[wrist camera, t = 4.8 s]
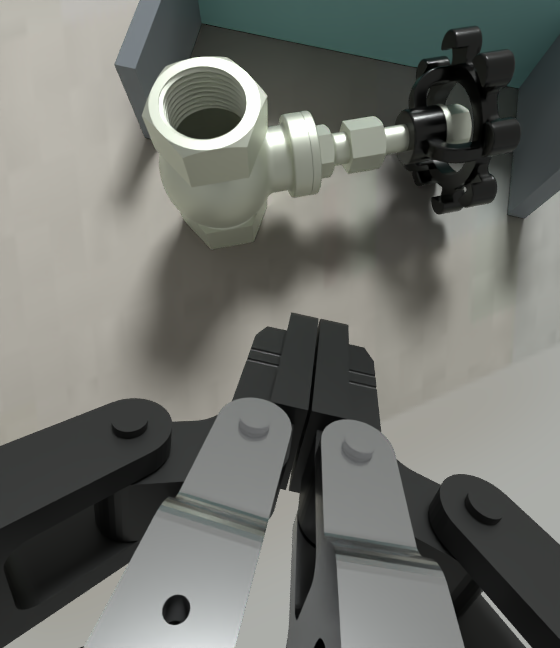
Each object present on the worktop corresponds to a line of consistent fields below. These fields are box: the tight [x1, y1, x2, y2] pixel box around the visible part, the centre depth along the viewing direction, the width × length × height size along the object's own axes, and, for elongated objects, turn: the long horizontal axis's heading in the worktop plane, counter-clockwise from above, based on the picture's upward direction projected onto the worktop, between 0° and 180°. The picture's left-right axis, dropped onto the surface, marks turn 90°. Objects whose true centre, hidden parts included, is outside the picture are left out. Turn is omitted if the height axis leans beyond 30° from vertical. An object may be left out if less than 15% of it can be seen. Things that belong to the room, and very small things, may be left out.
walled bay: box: [114, 0, 560, 218], centre depth 17 cm, size 18×8×6 cm, turn 78°
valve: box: [142, 25, 521, 249], centre depth 16 cm, size 7×7×12 cm
